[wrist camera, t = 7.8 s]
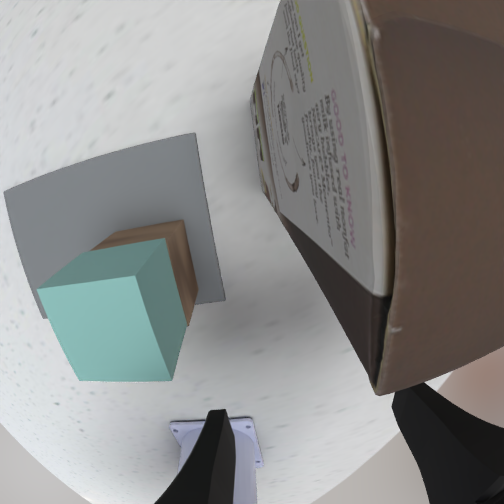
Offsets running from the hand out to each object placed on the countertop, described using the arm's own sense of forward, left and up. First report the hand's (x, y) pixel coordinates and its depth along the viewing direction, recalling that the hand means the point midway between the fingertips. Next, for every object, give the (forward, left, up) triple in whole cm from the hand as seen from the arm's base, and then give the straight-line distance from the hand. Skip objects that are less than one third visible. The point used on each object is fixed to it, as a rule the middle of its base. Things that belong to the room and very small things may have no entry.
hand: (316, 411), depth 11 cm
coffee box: (+10, -4, -11) cm, 15 cm away
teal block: (+4, +8, -6) cm, 11 cm away
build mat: (+6, +12, -10) cm, 17 cm away
